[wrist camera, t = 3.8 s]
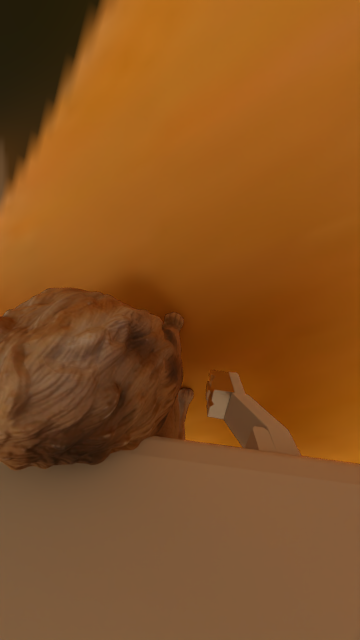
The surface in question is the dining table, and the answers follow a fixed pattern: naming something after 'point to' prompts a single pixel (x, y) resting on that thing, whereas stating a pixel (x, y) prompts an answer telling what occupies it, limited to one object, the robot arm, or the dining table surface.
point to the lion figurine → (86, 379)
